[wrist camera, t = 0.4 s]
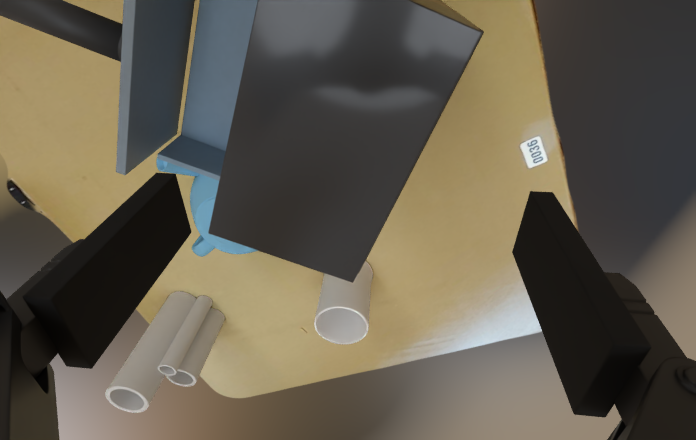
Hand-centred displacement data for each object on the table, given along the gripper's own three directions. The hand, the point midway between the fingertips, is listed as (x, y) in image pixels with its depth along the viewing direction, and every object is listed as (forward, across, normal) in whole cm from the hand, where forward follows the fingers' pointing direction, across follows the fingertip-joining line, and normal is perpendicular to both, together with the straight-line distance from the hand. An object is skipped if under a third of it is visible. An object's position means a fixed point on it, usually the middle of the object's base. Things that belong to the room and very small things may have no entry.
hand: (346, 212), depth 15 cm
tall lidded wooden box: (+40, -2, -1) cm, 40 cm away
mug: (+39, -4, -40) cm, 56 cm away
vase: (+38, -33, -48) cm, 70 cm away
